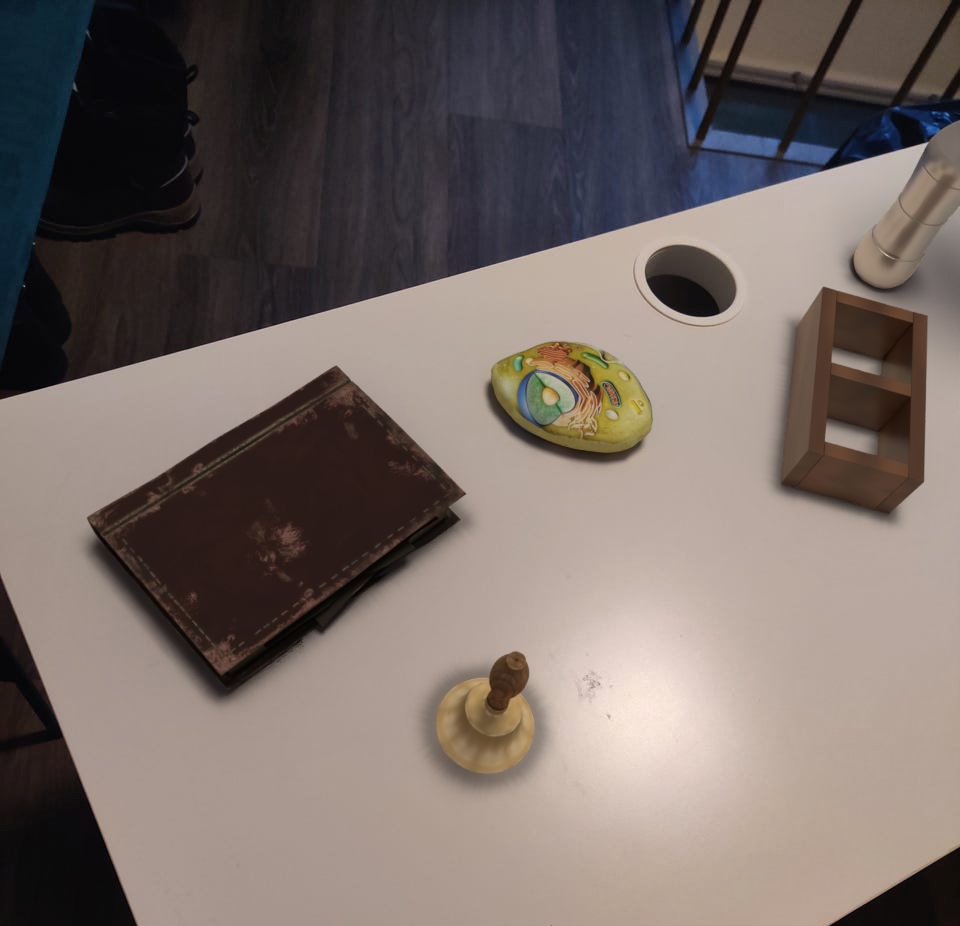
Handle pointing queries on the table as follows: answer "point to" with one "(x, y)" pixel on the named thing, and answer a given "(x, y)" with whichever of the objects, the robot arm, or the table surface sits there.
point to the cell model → (574, 396)
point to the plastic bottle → (913, 215)
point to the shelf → (858, 401)
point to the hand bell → (488, 718)
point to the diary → (278, 523)
